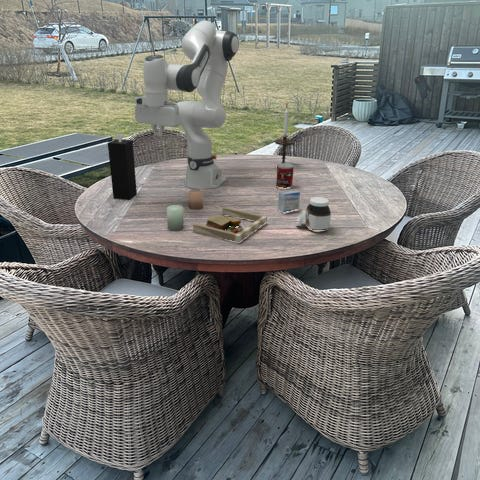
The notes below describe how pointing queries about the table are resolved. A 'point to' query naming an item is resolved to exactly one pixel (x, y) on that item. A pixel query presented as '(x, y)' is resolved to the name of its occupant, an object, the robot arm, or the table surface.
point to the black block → (122, 168)
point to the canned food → (284, 175)
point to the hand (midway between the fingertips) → (158, 136)
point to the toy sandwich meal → (224, 224)
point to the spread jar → (316, 214)
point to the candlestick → (285, 137)
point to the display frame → (229, 235)
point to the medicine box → (288, 200)
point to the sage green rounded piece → (175, 217)
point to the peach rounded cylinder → (195, 199)
